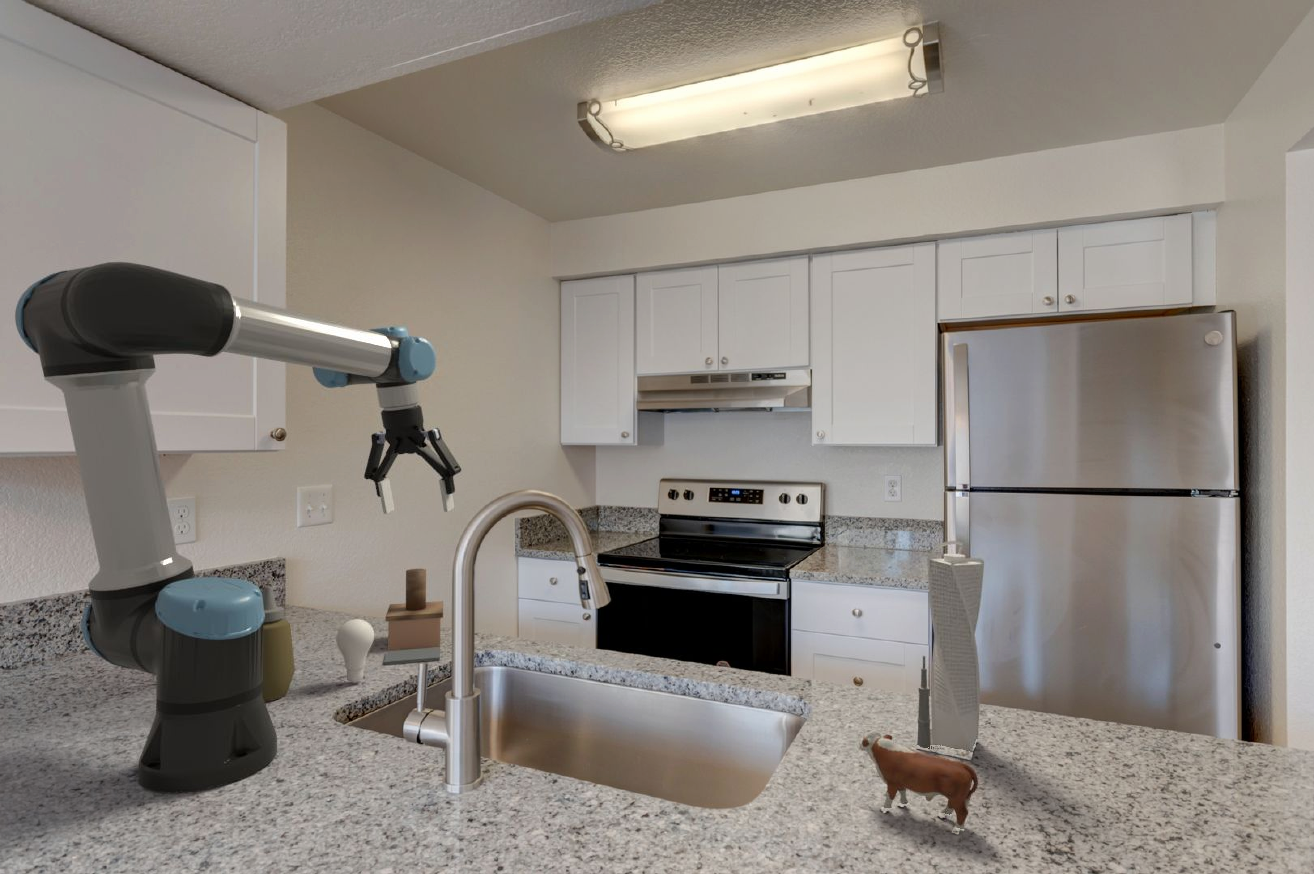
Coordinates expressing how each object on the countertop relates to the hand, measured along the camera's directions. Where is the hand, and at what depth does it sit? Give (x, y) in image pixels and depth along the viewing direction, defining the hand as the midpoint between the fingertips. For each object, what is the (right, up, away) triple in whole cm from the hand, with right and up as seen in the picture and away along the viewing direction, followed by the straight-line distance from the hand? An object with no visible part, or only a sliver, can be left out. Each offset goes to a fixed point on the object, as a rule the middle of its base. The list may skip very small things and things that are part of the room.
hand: (419, 510), depth 140 cm
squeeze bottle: (-16, -28, -25) cm, 41 cm away
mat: (0, -28, -4) cm, 28 cm away
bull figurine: (+77, -28, -61) cm, 102 cm away
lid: (-3, -22, +7) cm, 23 cm away
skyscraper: (+89, -28, -42) cm, 103 cm away
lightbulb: (-5, -28, -19) cm, 34 cm away
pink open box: (-3, -28, +7) cm, 29 cm away
